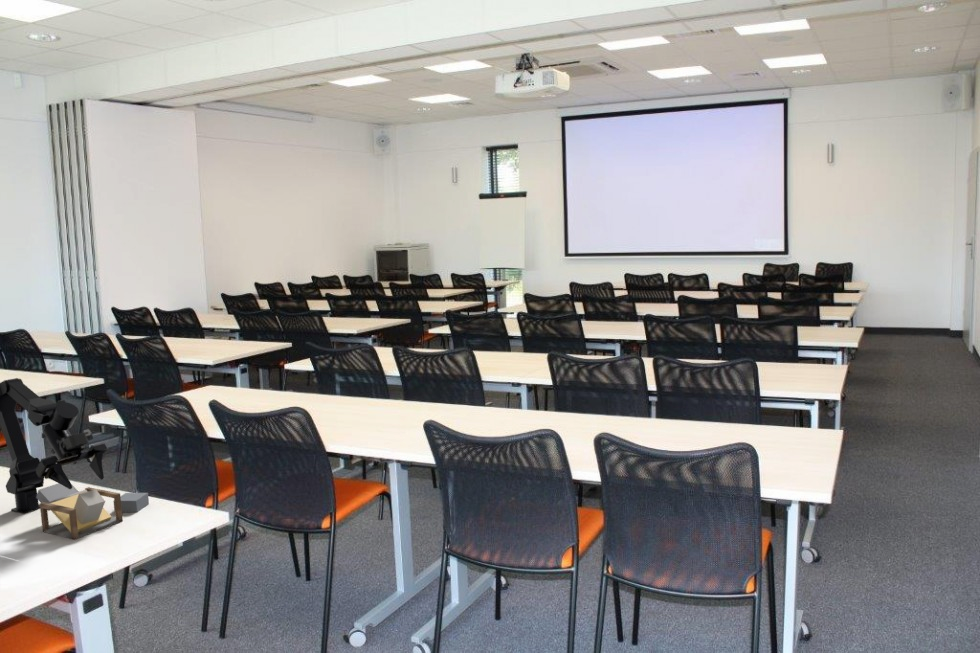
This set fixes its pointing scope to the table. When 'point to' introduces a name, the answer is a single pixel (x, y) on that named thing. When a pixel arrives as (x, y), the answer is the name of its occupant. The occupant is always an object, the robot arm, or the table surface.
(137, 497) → the plinth
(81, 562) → the table surface
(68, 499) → the trapdoor
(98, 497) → the grey upright block
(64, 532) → the frame
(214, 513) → the table surface
